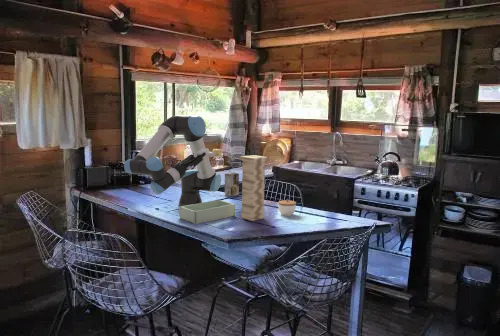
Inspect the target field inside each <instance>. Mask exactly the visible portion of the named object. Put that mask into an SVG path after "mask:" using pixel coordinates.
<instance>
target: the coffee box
mask: <svg viewBox="0 0 500 336" xmlns="http://www.w3.org/2000/svg"><path fill="white" fill-rule="evenodd" d="M239 178H240V174H239V173H237V172H228V173H225V174H224V196H225V195H227V196H226V197H230V196H231V197H235V196H239V195H240V192H239V190H240V179H239Z"/></svg>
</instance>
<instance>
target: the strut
mask: <svg viewBox="0 0 500 336" xmlns="http://www.w3.org/2000/svg"><path fill="white" fill-rule="evenodd" d="M199 154H200V153H194V158H195V157H197V156H199ZM222 156H223V152H222V149H221V148H212V151H209V153H208V154H207V155H205V156H204V157H209V158H214V157H217V158H218V157H222Z"/></svg>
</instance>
